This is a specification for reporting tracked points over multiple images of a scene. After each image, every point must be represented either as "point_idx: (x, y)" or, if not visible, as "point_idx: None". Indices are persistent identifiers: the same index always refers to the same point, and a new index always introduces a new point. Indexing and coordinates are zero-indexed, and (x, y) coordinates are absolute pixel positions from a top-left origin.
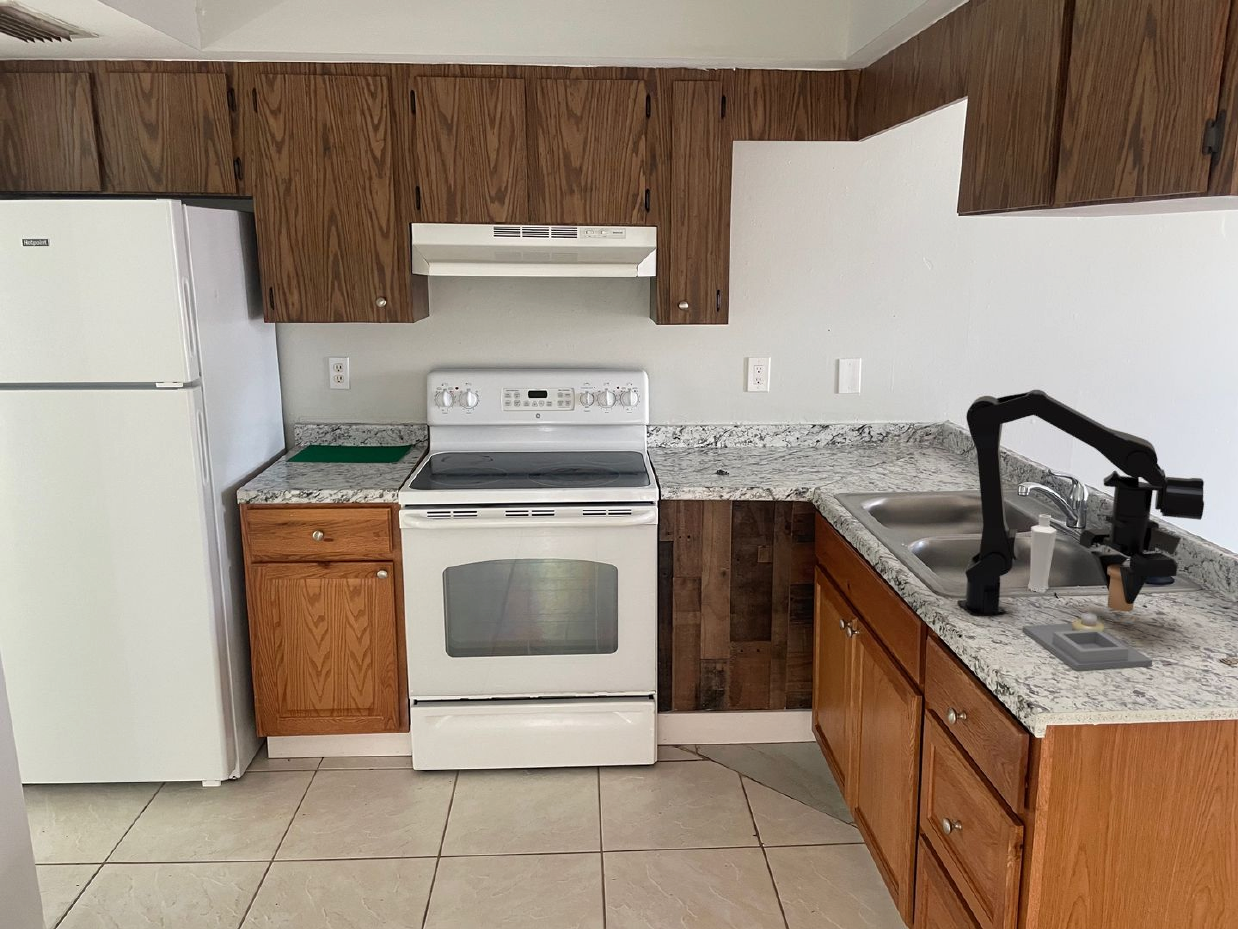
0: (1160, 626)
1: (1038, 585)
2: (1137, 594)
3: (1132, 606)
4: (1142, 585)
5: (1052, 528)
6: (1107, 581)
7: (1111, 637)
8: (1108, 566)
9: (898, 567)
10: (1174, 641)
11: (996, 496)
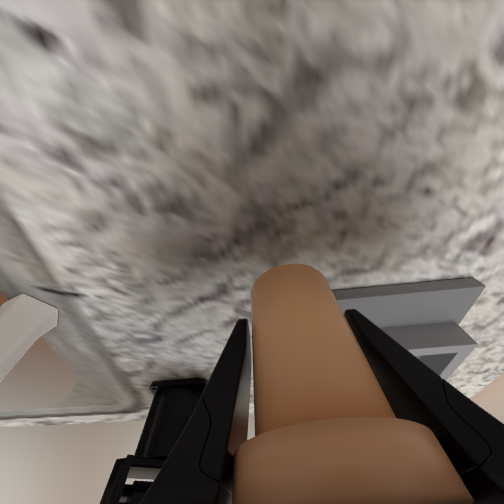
0: (275, 111)
1: (41, 330)
2: (395, 343)
3: (327, 284)
4: (462, 397)
5: None
6: (249, 396)
7: (355, 306)
8: None
9: (29, 423)
10: (399, 142)
11: None
